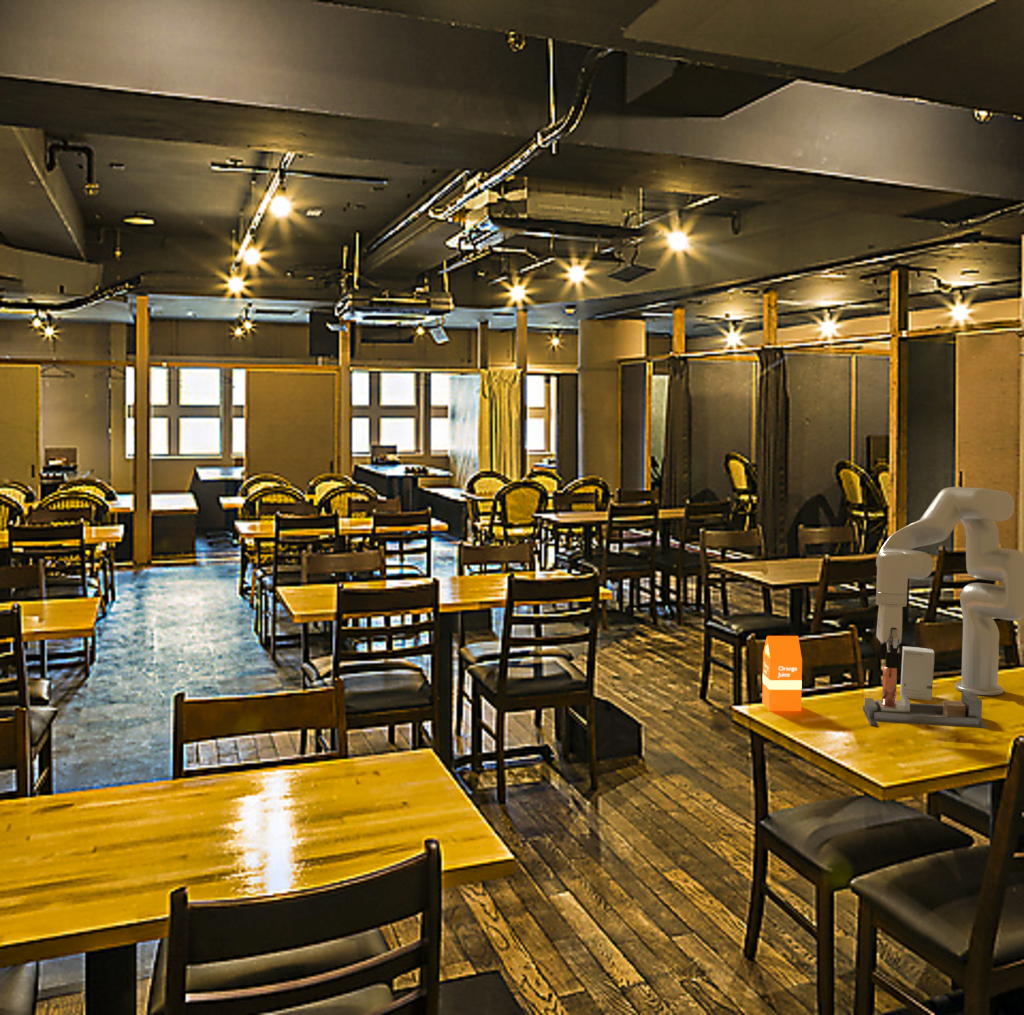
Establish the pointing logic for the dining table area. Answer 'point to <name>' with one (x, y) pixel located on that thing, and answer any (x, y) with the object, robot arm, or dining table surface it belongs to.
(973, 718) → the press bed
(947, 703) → the brown wooden cube
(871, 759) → the dining table surface
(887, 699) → the ram
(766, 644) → the orange juice
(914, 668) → the skincare box
